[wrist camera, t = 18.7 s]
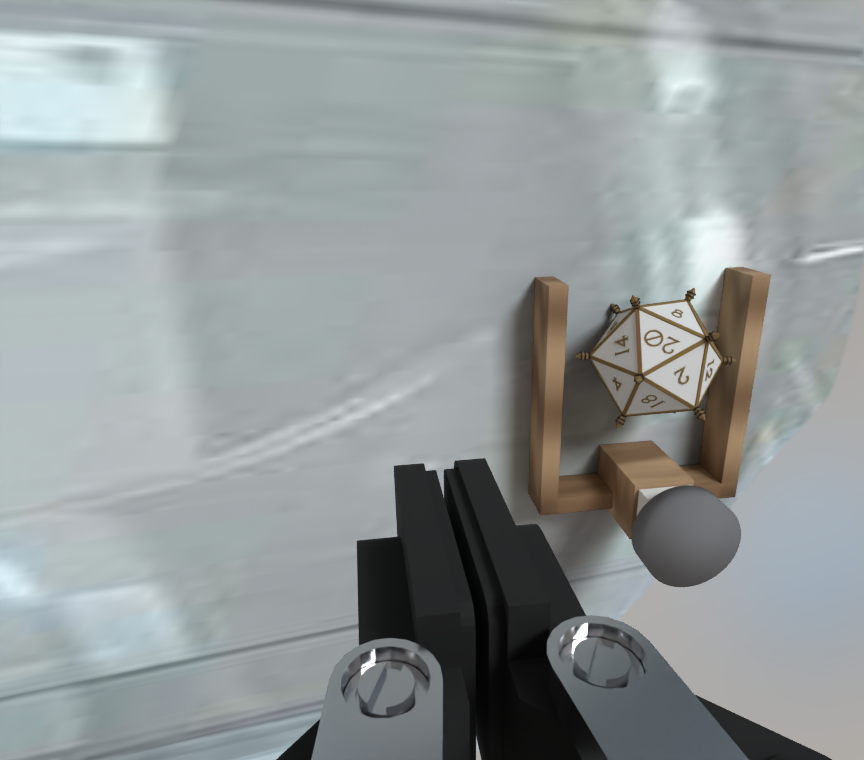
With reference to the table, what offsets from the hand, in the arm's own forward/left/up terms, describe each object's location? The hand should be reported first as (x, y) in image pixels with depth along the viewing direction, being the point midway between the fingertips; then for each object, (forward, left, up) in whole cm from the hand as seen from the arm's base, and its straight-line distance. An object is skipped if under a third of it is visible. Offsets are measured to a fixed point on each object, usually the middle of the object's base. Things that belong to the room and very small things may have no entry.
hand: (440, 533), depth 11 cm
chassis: (+9, +18, -29) cm, 35 cm away
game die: (+6, +17, -29) cm, 34 cm away
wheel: (+15, +17, -23) cm, 33 cm away
